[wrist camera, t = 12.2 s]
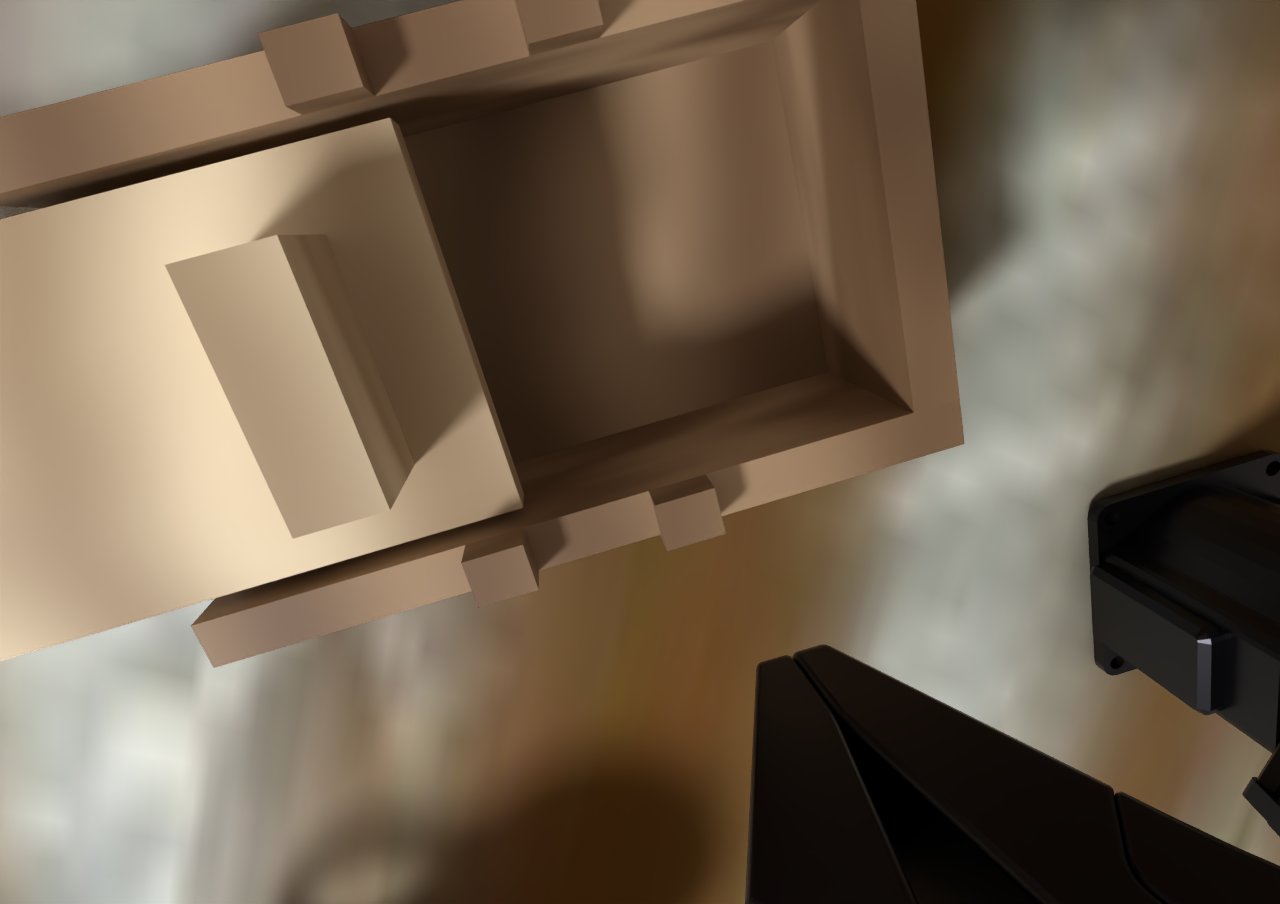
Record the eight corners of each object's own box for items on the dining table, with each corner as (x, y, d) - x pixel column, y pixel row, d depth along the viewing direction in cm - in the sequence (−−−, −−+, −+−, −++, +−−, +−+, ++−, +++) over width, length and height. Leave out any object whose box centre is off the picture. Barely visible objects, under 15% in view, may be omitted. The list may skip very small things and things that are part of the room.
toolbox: (790, -6, 17) (929, -137, 11) (853, 388, 20) (987, 454, 14) (124, 168, 16) (-124, 129, 10) (302, 549, 19) (195, 692, 13)
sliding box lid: (398, 124, 13) (353, 89, 10) (523, 494, 15) (520, 560, 12) (-422, 340, 12) (-754, 376, 9) (-154, 691, 14) (-341, 816, 11)
